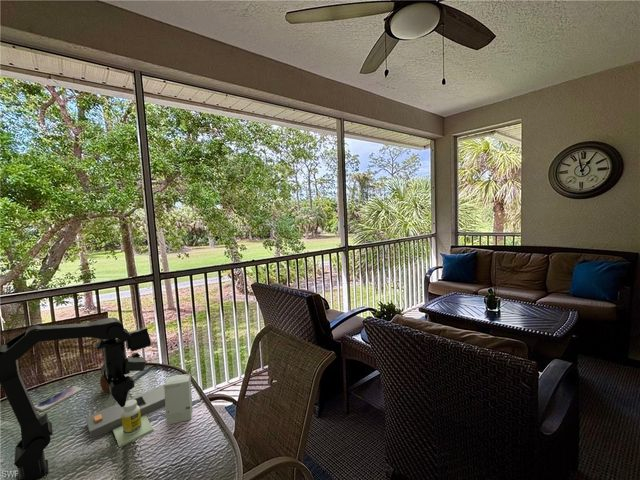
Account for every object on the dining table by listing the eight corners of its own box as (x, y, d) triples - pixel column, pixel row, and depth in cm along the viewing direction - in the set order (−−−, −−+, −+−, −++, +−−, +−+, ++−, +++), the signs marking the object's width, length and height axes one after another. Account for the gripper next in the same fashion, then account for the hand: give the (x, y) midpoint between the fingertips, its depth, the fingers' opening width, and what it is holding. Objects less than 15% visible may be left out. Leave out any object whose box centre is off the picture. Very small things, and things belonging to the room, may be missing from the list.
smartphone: (31, 406, 118) (74, 385, 132) (31, 408, 118) (75, 386, 132) (41, 410, 116) (84, 388, 129) (42, 412, 116) (84, 390, 129)
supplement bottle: (133, 436, 100) (129, 409, 99) (119, 434, 102) (115, 407, 100) (145, 424, 106) (142, 398, 104) (132, 423, 107) (129, 397, 106)
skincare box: (166, 425, 106) (162, 386, 104) (169, 414, 111) (165, 376, 110) (192, 419, 108) (188, 380, 106) (194, 409, 114) (190, 372, 112)
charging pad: (153, 430, 104) (153, 429, 103) (119, 447, 97) (118, 445, 97) (145, 416, 111) (145, 414, 111) (113, 431, 104) (112, 429, 104)
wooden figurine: (103, 387, 130) (99, 354, 128) (119, 383, 133) (115, 351, 131) (100, 396, 124) (95, 361, 122) (116, 391, 126) (112, 358, 125)
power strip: (170, 389, 127) (169, 380, 126) (178, 399, 120) (177, 390, 119) (86, 424, 108) (85, 414, 107) (91, 439, 101) (89, 429, 100)
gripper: (149, 357, 99) (154, 401, 101) (136, 339, 113) (140, 379, 114) (108, 370, 91) (114, 418, 93) (99, 350, 105) (104, 392, 107)
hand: (120, 400), depth 102 cm, fingers open, 9 cm apart
